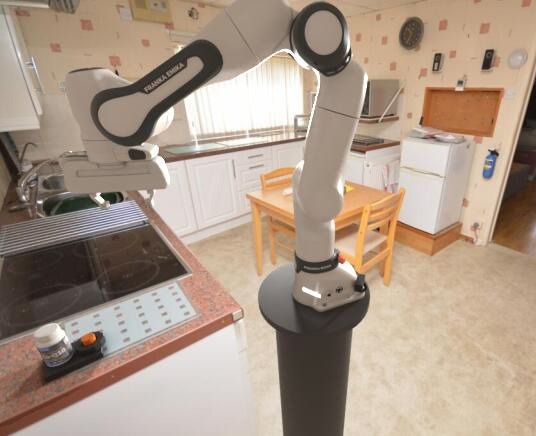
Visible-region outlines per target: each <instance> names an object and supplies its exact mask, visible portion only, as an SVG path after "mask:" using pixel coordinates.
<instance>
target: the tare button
mask: <svg viewBox="0 0 536 436" xmlns="http://www.w3.org/2000/svg"><path fill="white" fill-rule="evenodd" d="M82 336H83V337H82ZM82 336H81V337H82V338H81V337H80V338H81V341H82V343H83V345H84V346H88V345H90V344H92V343H94V342H95V341H96V337H95V335H94V333H91V332H87V333H85V334H84V335H82Z"/></svg>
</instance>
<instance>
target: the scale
mask: <svg viewBox="0 0 536 436" xmlns="http://www.w3.org/2000/svg"><path fill="white" fill-rule="evenodd" d="M90 333H94V335H95V337H96V341H95V342H94V343H92V344H90V345H88V346H84V345H83V343H82V341H81V338H82V337H83V336H84V335H81V336H80V338H78V339H77V340H75V341H73V342H70V344H71V346H72V348H73V350H74V354H73V356H72V357H71V358H70V359H69V360H68V361H67V362H65V363H63V364H61V365H59V366H55V367H49V366H47V365H46V363H45V361H44V360H43V371H42V379H43V381H44V382H45V383H48V382H50V381H53V380H55V379H57V378H59V377H62V376H63V375H65V374H68V373H70V372H73V371H75V370H77V369H79V368H82V367H84V366H87V365H88V364H90V363H93V362H95V361H98V360H100V359H102V358H104V357H105V354H104V345H105V343H106V341H107V339H106V336H105V334H104V333H103V332H102V331H99V330H96V331H91V332H90Z"/></svg>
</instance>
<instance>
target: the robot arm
mask: <svg viewBox="0 0 536 436" xmlns="http://www.w3.org/2000/svg"><path fill="white" fill-rule="evenodd" d="M290 4H291V3H290V2H289V1H288V0H235V1H233V2H232V3H230V4H229V5H228V6H226V7H225V8H223V9H222V10H221V11H220V12H219V13H217V14H215V16H213V18H212V19H210V20H209V21H208V22H207V23H206V24H205V25H204V26H203V28H201V29H200V30H199V31H198V33H196V34H195V35H194V36H193V37H192V38H191V39H190V40H189V41H188V42H187V43H186V44H185V45H184V46H183V47H182V48H181V49H179V51H177V52H176V53H175V54H173V55H172V56H171V57H169V58H168V59H167V60H165V61H164V62H162V63H161V64H160V65H158V66H157V67H155V68H154V69H152V70H151V71H149V72H148V73H147V74H145V75H144V76H143V77H141V78H139V79H138V80H136V81H135V82H133V81H130V80H127V79H125V78H123V77H121V76H119V75H117V74H116V73H114V72H113V71H112V70H110V69H109V68H106V67H102V66H101V67H100V66H99V67H98V66H93V67H84V68H77V69H73V70H71V71H69V72H67V74H65V78H64V84H65V85H64V86H65V91H66V96H67V101H68V103H69V106H70V110H71V113H72V115H73V118H74V119H75V121H76V122H77V124H78V126H79V130H80V139H81V142H82V146H83V148H84V150H78V151H63V152H62V153H60V155H59V156H58V157H57V162H58V165H59V167H60V169H61V170H62V175H63V180H64V184H65V188H66V190H67V191H68V192H69V193H70V194H72V195H85V194H87V195H89V198H90V199H91V200H92V201H94V203H96V204H97V205H98V207H99V209H100V211H109V210H110V209H111V203H110V200H105V199H103V198H102V196H101V194H104V193H121V192H140V191H146V194H147V195H149V197H146V198H145V200H143V202H144V204H145V206H144V207H145V208H153V207H155V201H154V197H155V196H156V193H157V190H165V189H167V188H168V187H169V186H170V184H171V177H170V174H169V170H168V167H167V165H166V163H165V160H164V159H163V158H162V157H161V156H159V155H158V154H159V147H158V146H157V145H156V144H153V143H149V142H147V141H149V140H150V139H151V138H152V137H155V136H157V135H159V134H161V133H162V132H164V131H166V130H167V129H168V128H170V127H171V125H172V124H173V121H174V119H175V112H174V111H175V110H174V107H176V106H177V105H178V104H180V103H181V102H182V101H184V100H186V99H187V98H188V97H190V96H191V95H192V94H194V93H195V92H197V91H198V90H200V89H203V88H205V87H207V86H210V85H214V84H218V83H222V82H228V81H231V80H235V79H237V78H239V77H241V76H243V75H245V74H247V73H250V72H251V71H252V70H254V69H256V68H257V67H258V66H260V65H261V64H262V63H264V62H265V61H267V60H268V59H269V58H271V57H272V56H274V55H276V54H277V53H279V52H280V53H281V52H285V53H286V54H287V55H288V56H290V58H292V59H293V60H294V61H295V62H296V64H298V65H299V66H300V67H302V68H304V69H305V70H308V71H313V72H315V74H316V76H317V80H318V81H317V82H318V86H317V92H316V93H317V94H316V96H315V101H314V104H313V108H312V112H311V115H310V120H309V125H308V128H307V132H306V135H305V136H306V137H305V144H304V145H305V146H304V154H303V160H302V161H301V162H299V163H298V164H297V165H296V166H295V168H294V169H293V172H292V177H291V190H292V191H291V193H292V207H293V217H294V219H293V221H294V230H295V231H294V232H295V233H294V236H295V238H294V239H295V240H294V241H295V249H294V253H293V254H294V255H293V261H294V268H295V278H294V282H293V286H292V289H291V293H292V296H293V297H294V299H295V300H296V301H298V302H299V303H301V304H304V305H307V306H310V307H312V308H314V309H315V310H317V311H319V312H323V311H326V310H329V309H332V308H335V307H338V306H341V305H344V304H347V303H350V302H353V301H356V300H359V299H362V298H363V297H364V295H365V291H366V290H367V285H368V284H367V285H366V283H367V282H366V283H365V281H366V274H364V273H359V272H358V275H357V274H356V272H355V271H356V269H355V268H354V267H353V265H352V264H351V263H350V262H349V261H347V260H346V258H345V256H344V255H343V254H341V251H340V250H339V248H337V246H336V244H335V242H336V241H335V239H336V238H335V237H336V224H335V219H337V218H338V217H339V215H340V214H341V213H342V211H343V208H344V202H345V201H344V200H345V199H344V191H345V190H344V189H345V184H346V178H347V171H348V165H349V156H350V152H351V149H352V144H353V141H354V139H355V135H356V132H357V128H358V126H359V125H358V124H359V122H360V118H361V115H362V113H363V108H364V103H365V99H366V93H367V86H368V73H367V70H366V69H365V67H364V66H363V65H362V64H360V63H359V62H358V61H357V60H354V59H353V49H352V45H351V38H350V31H349V26H348V22H347V20H346V17H345V16H344V14H343V12H342V10H340V9H339V8H338V7H337V6H336V5H333V3H330V2H327V1H315V2H311V3H309V4H307V5H306V6H304V7H303V8H302V9H301V10H300V11H298V10H295V9H294V8H293V7H292V6H291V5H290Z"/></svg>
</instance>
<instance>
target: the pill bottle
mask: <svg viewBox="0 0 536 436" xmlns="http://www.w3.org/2000/svg"><path fill="white" fill-rule="evenodd" d="M32 337H33V339H34V341H35V343H34V344H35V348H36V349H37V351H38V353H39V354H40V356H41V358H42V360H43V362H44V361H45V363H46V365H47V366H49V367H55V366H59V365H61V364H63V363H65V362H67V361H68V360H69V359H70V358H71V357H72V356H73V354H74V350H73V348H72V346H71V344H70V343H71V342H70V340H69V337H68V336H67V334H66V332H65V331H64V330H63V329H61V327H60V326H59V324H57V323H53V322H52V323H48V324H45V325H42V326H40V327H39V328H37V329H36V330H35V331H34V332H33V335H32Z"/></svg>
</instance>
